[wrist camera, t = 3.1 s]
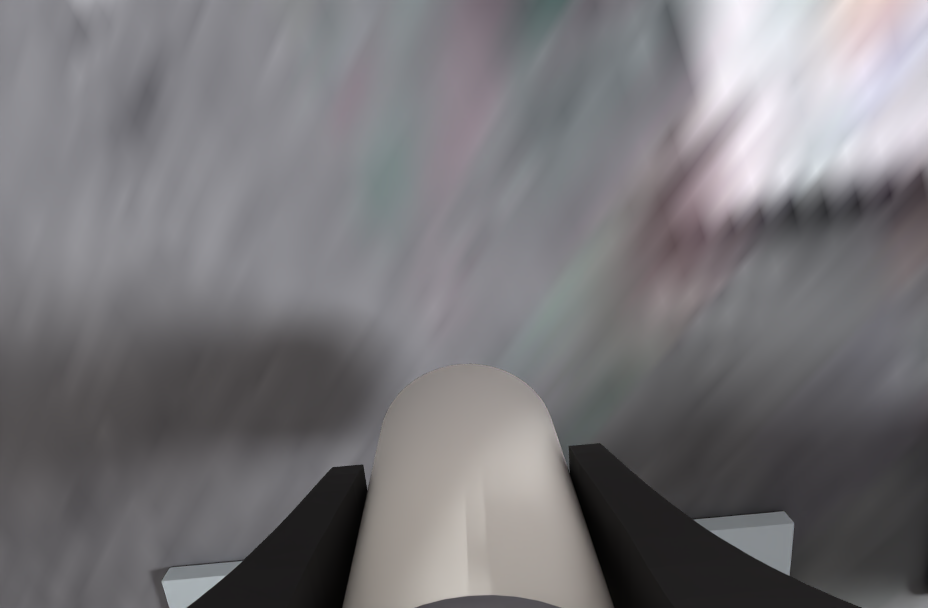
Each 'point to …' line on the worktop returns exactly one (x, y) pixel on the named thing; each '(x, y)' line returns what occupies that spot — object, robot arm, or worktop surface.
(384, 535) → the tube
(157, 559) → the worktop surface
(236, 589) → the robot arm
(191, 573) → the plate
